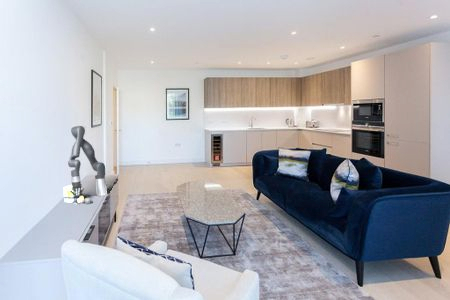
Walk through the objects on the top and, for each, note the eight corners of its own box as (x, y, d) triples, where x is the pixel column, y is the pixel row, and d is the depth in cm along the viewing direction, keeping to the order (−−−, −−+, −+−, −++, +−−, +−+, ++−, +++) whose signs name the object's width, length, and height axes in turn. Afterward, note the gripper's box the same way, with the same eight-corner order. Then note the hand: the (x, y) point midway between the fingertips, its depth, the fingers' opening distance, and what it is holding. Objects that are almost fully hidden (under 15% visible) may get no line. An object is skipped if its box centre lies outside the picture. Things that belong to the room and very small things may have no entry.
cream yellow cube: (82, 199, 338) (82, 195, 338) (83, 199, 336) (83, 196, 336) (79, 199, 336) (79, 196, 336) (80, 200, 334) (80, 197, 334)
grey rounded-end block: (89, 202, 332) (89, 197, 331) (92, 203, 328) (91, 198, 328) (84, 203, 328) (84, 198, 328) (86, 204, 325) (86, 199, 324)
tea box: (73, 202, 335) (72, 187, 333) (64, 202, 337) (62, 187, 336) (83, 198, 350) (81, 183, 348) (74, 198, 352) (72, 183, 350)
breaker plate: (86, 200, 342) (86, 197, 342) (92, 201, 334) (91, 199, 334) (72, 203, 332) (72, 201, 332) (77, 205, 324) (77, 202, 324)
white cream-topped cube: (80, 201, 330) (80, 198, 329) (82, 201, 328) (81, 198, 328) (77, 201, 328) (77, 198, 327) (78, 202, 326) (78, 199, 325)
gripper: (81, 179, 339) (83, 197, 341) (67, 181, 330) (69, 200, 332) (84, 180, 334) (86, 198, 336) (70, 182, 324) (72, 201, 326)
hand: (77, 199), depth 334 cm, fingers closed
